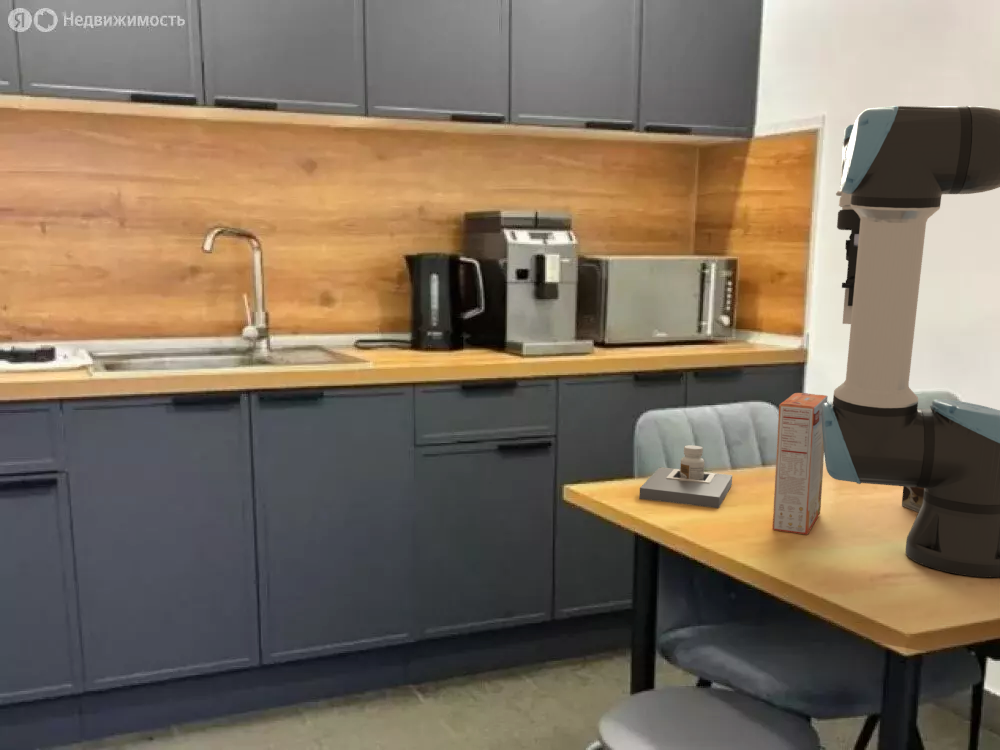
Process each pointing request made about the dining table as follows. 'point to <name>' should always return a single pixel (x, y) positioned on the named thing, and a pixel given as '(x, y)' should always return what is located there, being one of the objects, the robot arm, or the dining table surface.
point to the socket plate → (686, 488)
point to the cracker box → (799, 463)
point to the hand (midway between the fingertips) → (850, 321)
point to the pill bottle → (692, 463)
